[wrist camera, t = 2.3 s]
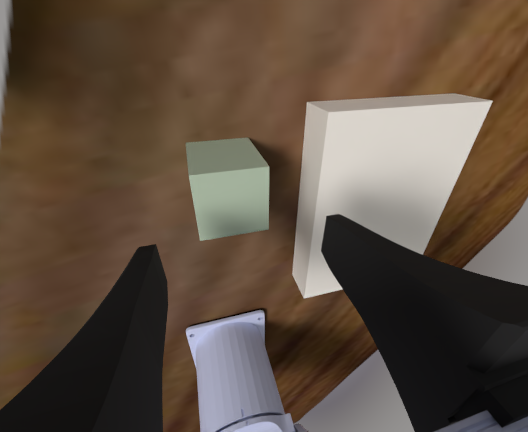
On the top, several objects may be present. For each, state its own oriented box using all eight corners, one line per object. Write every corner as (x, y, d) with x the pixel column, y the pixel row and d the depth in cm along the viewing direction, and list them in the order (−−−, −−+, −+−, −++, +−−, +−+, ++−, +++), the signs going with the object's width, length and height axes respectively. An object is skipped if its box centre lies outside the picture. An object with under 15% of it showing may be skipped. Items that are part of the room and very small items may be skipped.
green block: (249, 190, 20) (268, 229, 16) (195, 197, 19) (200, 240, 15) (247, 137, 17) (269, 166, 13) (185, 142, 16) (188, 175, 12)
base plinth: (394, 252, 29) (414, 271, 26) (292, 274, 26) (304, 298, 24) (454, 93, 20) (492, 100, 17) (307, 101, 17) (328, 112, 15)
